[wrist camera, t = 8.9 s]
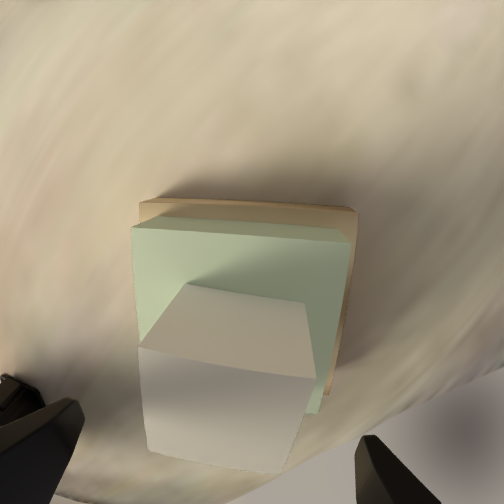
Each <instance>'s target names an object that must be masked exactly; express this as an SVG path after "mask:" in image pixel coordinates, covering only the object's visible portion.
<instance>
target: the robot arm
mask: <svg viewBox="0 0 504 504" xmlns="http://www.w3.org/2000/svg"><path fill="white" fill-rule="evenodd" d="M0 380H1V382H2V383H1V384H0V504H49V503H50V501H51V499H52V497H53V495H54V492H55V490H56V488H57V486H58V484H59V482H60V480H61V478H62V475H63V473H64V471H65V469H66V467H67V465H68V463H69V461H70V459H71V457H72V454H73V452H74V449H75V446H76V444H77V441H78V438H79V435H80V433H81V430H82V427H83V425H84V421H85V417H84V414H83V412H82V409H81V406H80V404H79V402H78V401H77V400H76V399H73V398H70V397H66V398H63V399H61V400H59V401H57V402H55V403H53V404H51V405H49V406H46V407H45V405H44V403H43V401H42V399H41V396H40V394H39V392H38V391H37V390H36V389H34V388H32V387H29V386H27V385H25V384H22V383H20V382H18V381H16V380H13V379H11V378H9V377H7V376H5V375H1V376H0ZM355 479H356V501H357V504H441V502H440V501H439V500H438V499H437V498H436V497H435V496H434V495H433V494H432V493H431V492H430V491H429V490H428V489H427V488H426V487H425V486H424V485H423V484H422V483H421V482H420V481H419V480H418V479H417V478H416V476H414V475H413V473H412V472H411V471H410V470H409V469H408V468H407V467H406V466H405V465H404V464H403V463H402V462H401V461H400V460H399V459H398V458H397V457H396V456H395V455H394V454H393V453H392V452H391V450H390V449H389V448H388V447H387V446H386V445H385V444H384V443H383V442H382V441H381V440H380V439H379V438H378V437H377V436H376V435H364V436H362V437H361V439H360V442H359V444H358V447H357V449H356V452H355Z"/></svg>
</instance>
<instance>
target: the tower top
mask: <svg viewBox="0 0 504 504" xmlns="http://www.w3.org/2000/svg"><path fill="white" fill-rule="evenodd" d="M131 241H132V262H133V277H134V290H135V302H136V312H137V321H138V330H139V338H140V343H141V342H142V340H143V339H144V337H145V336H146V335H147V333H148V332H149V331H150V329H151V328H152V327H153V325H154V324H155V323H156V321H157V320H158V319H159V317H160V316H161V315H162V313H163V312H164V311H165V309H166V308H167V307H168V305H169V304H170V303H171V301H172V300H173V299H174V297H175V296H176V295H177V293H178V292H179V291H180V289H181V288H182V287H183V285H184V284H191V285H196V286H202V287H208V288H213V289H219V290H225V291H231V292H237V293H243V294H249V295H256V296H262V297H268V298H275V299H281V300H288V301H295V302H302V303H305V308H306V314H307V320H308V326H309V333H310V339H311V345H312V352H313V358H314V365H315V371H316V378H317V379H316V382H315V385H314V388H313V391H312V394H311V397H310V400H309V403H308V406H307V408H306V411H305V414H318V411H319V408H320V404H321V400H322V396H323V392H324V388H325V384H326V380H327V375H328V371H329V367H330V362H331V358H332V353H333V348H334V344H335V339H336V334H337V329H338V324H339V318H340V313H341V308H342V302H343V296H344V290H345V284H346V278H347V272H348V265H349V258H350V251H351V243H350V241H349V240H348V239H347V238H346V237H345V236H344V235H343V233H342V232H341V231H340V230H339V229H337V228H326V227H314V226H302V225H290V224H277V223H264V222H250V221H235V220H220V219H204V218H187V217H168V216H156V217H153V218H151V219H149V220H147V221H144V222H142V223H140V224H138V225H135V226H133V227H131Z"/></svg>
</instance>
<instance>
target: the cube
mask: <svg viewBox="0 0 504 504" xmlns="http://www.w3.org/2000/svg"><path fill="white" fill-rule="evenodd" d="M138 362H139V376H140V388H141V398H142V408H143V416H144V425H145V432H146V439H147V446H148V450H149V451H152V452H156V453H159V454H163V455H167V456H171V457H175V458H179V459H183V460H187V461H192V462H196V463H201V464H206V465H211V466H216V467H222V468H228V469H234V470H240V471H248V472H255V473H264V474H274V475H281V474H282V471H283V469H284V466H285V464H286V461H287V459H288V456H289V454H290V451H291V449H292V446H293V444H294V441H295V439H296V436H297V433H298V431H299V428H300V425H301V422H302V420H303V417H304V414H305V411H306V408H307V406H308V403H309V400H310V397H311V394H312V391H313V388H314V385H315V382H316V379H317V378H316V371H315V365H314V358H313V352H312V345H311V339H310V333H309V326H308V320H307V314H306V308H305V303H302V302H295V301H288V300H281V299H275V298H268V297H262V296H256V295H249V294H243V293H237V292H231V291H225V290H219V289H213V288H208V287H202V286H196V285H191V284H184V285H183V287H182V288H181V289H180V291H179V292H178V293H177V295H176V296H175V297H174V299H173V300H172V301H171V303H170V304H169V305H168V307H167V308H166V309H165V311H164V312H163V313H162V315H161V316H160V317H159V319H158V320H157V321H156V323H155V324H154V325H153V327H152V328H151V329H150V331H149V332H148V333H147V335H146V336H145V337H144V339H143V340H142V342H141V343H140V344H139V346H138Z"/></svg>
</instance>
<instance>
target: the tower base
mask: <svg viewBox="0 0 504 504" xmlns="http://www.w3.org/2000/svg"><path fill="white" fill-rule="evenodd" d="M156 216H168V217H187V218H204V219H220V220H235V221H250V222H264V223H277V224H290V225H302V226H314V227H326V228H337V229H339V230H340V231H341V232H342V233H343V235H344V236H345V237H346V238H347V239H348V240H349V241H350V243H351V251H350V258H349V265H348V272H347V278H346V284H345V290H344V296H343V302H342V308H341V313H340V318H339V324H338V329H337V334H336V339H335V344H334V348H333V353H332V358H331V362H330V367H329V371H328V375H327V380H326V384H325V388H324V392H323V395H329V392H330V388H331V384H332V379H333V375H334V370H335V366H336V361H337V357H338V352H339V347H340V342H341V337H342V331H343V326H344V321H345V315H346V309H347V303H348V297H349V291H350V284H351V277H352V271H353V263H354V256H355V248H356V239H357V231H358V221H359V213H357V212H356V211H354V210H353V209H351V208H349V207H338V206H326V205H312V204H298V203H283V202H265V201H245V200H222V199H190V198H153V199H150V200H146V201H143V202H140V203H139V220H140V223H142V222H144V221H147V220H149V219H151V218H153V217H156Z"/></svg>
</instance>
